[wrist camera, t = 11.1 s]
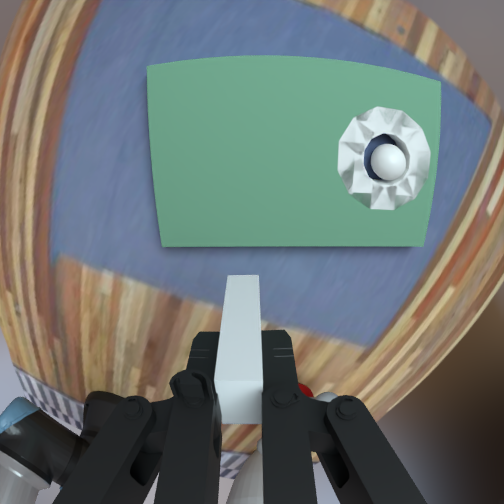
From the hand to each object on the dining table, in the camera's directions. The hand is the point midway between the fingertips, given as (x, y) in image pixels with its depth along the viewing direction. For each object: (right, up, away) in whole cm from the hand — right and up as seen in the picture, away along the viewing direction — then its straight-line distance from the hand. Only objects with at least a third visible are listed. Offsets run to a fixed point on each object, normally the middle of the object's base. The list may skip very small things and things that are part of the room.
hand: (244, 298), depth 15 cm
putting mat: (+5, +12, +12) cm, 18 cm away
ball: (+14, +11, +10) cm, 20 cm away
